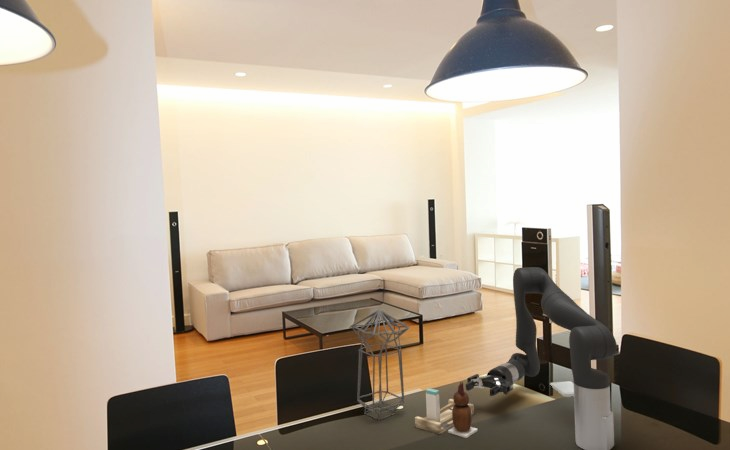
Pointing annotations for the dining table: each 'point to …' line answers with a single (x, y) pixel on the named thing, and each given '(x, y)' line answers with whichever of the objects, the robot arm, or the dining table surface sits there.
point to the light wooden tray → (445, 419)
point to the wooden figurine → (461, 410)
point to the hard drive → (564, 388)
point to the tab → (433, 405)
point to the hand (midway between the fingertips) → (478, 390)
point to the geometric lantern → (380, 358)
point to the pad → (463, 434)
